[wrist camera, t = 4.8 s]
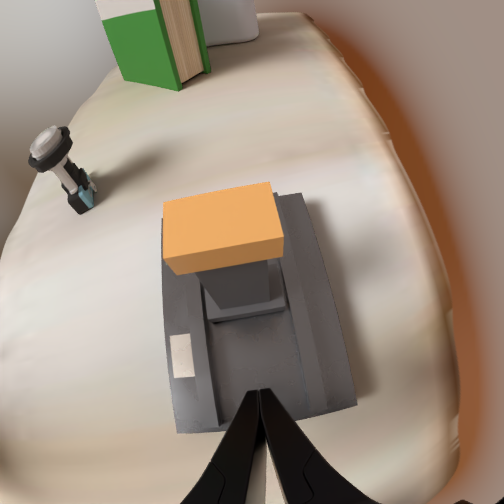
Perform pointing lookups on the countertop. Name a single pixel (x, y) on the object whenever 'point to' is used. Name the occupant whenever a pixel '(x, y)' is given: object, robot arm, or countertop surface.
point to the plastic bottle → (228, 21)
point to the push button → (62, 166)
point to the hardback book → (156, 40)
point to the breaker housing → (258, 339)
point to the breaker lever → (228, 248)
